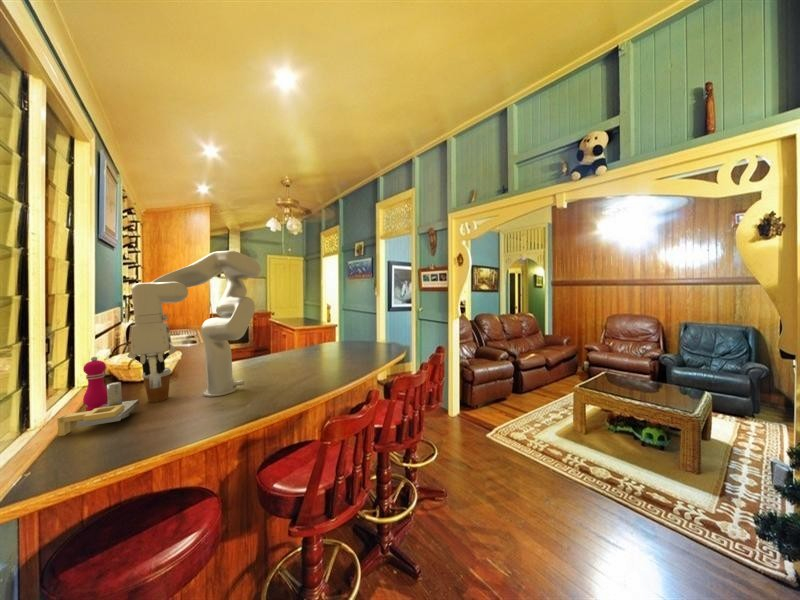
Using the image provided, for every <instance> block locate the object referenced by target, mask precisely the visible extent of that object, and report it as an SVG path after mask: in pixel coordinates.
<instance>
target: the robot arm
mask: <svg viewBox="0 0 800 600" xmlns="http://www.w3.org/2000/svg"><path fill="white" fill-rule="evenodd" d="M261 269H262V268H261V264H260V263H259V261H258V260H256V259H254V258H253V257H250V256H249V255H246V254H244V253H241V252H238V251H235V250H220V251H213V252H210V253H208V254H207V255H204V256H203V257H202V258H200V259H198V260H197V261H194V262H193V263H191V264H189V265H187V266H184V267H181V268H178V269H177V270H176V269H175V270H174V271H170V272H168V273H165V274H163V275H161V276H159V277H157V278H156V279H154V280H151V282H139V283H134V284H133V285H132V286H131V296H132V304H133V305H132V306H133V307H132V308H133V316H134V317H133V318H134V324H132V327H131V328H132V329H131V339H130V344H131V346H130V347H131V349H130V351H129V353H128V354H127V358H129V359H133V360H136V361H137V362H139V363H140V364H141V365H142V374H143V373H145V376H147V375H149V370H148V360H147V356H146V354H149V353H158V358H159V362H158V363H157V364H158V373H159V374H161V373H163V371H164V370H165V368H166V363H165V361H166V359H167V358H168V357H170V356H171V355H173V354H175V352H177V349H176V348H175V347H174V345H173V343H172V338H171V332H170V329H169V325H168V322H166V321H165V320H168V319H169V315H168V314H167V315H166V314H165V313H164V311H163V304H175V303H180V302H183V301H184V300H186V298H187V297H188V295H189V289H188V288H191V287H197V286H201V285H203V284H206V283H209V281H210V280H212V279H213V278H215V277H217V276H218V275H219V274H221V273H223V274H224V278H225V281H226V288H225V290H224V292H223V294H222V296H221V298H220V300H219V301H218V303H217V304H216V305H217V306H216V308H215V312H216V314H217V316H218V317H211V318H208V319H206V320H204V322H202V324H201V327H200V332H201V333H200V334H201V338H202V340H203V345H204V354H205V358H204V359H205V373H206V389H205V390H204V391H202V395H203V397H209V398H211V397H221V396H225V395H230V394H232V393H234V392H236V391H237V390H238V386H239V387H241V386H245V380H242V379H240V380H237V379H236V380H235V377H234V376H233V363H232V362H233V361H232V358H233V357H232V348H231V344H230V343H229V341H237V340H240V339H242V338H243V337H244V336H245V334H246V332H247V330H248V328H249V326H250V323H251V321H252V319H253V318H254V314H255V312H256V304H255V301H254V300H253V299H252V298H251V297H249V296H247V292H248V289H247V286H246V284H245V282H244V280H243V279H255V278H256V277H258V276H259V275H260V273H261V271H262V270H261Z"/></svg>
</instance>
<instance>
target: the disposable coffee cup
mask: <svg viewBox="0 0 800 600" xmlns="http://www.w3.org/2000/svg"><path fill="white" fill-rule="evenodd" d="M171 374H172V370H171V368H170V367H165V370H164V371H163V373H161V374H160V376H161V387H158V388H153V389H151V388H150V381H149V375H147V376H145V373H143V372H142V374H141V377H142V379H143V383H144V386H145V392H146V396H147V400H148V401H147V402H148V403H159V401H160V402H163V401H166V400H168V399H169V394H170V393H169V392H170V382H171V381H170V380H171ZM165 399H166V400H165ZM162 400H163V401H162Z"/></svg>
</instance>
